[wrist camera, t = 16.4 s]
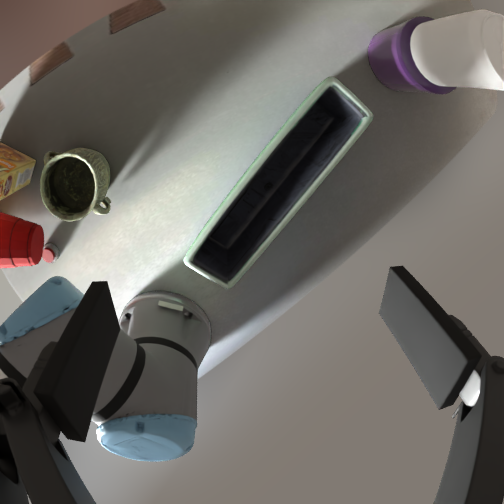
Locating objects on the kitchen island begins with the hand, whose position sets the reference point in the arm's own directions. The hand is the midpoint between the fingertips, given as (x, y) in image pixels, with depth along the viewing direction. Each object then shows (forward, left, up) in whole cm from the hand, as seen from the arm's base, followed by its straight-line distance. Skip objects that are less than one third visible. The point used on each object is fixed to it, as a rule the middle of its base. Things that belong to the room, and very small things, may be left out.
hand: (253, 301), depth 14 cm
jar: (+17, -23, -29) cm, 41 cm away
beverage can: (+17, -23, -20) cm, 35 cm away
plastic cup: (-7, +28, -25) cm, 39 cm away
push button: (-10, +29, -29) cm, 42 cm away
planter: (-1, -5, -29) cm, 29 cm away
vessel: (+1, +20, -29) cm, 35 cm away
